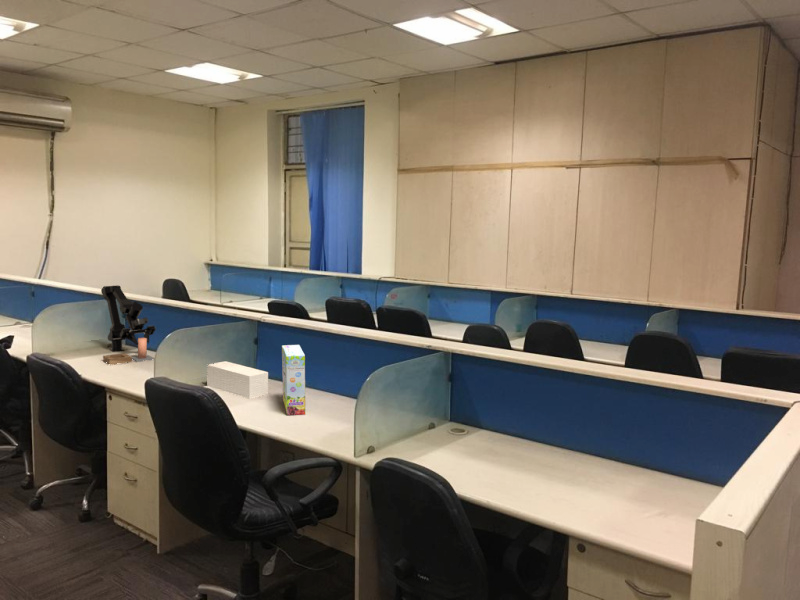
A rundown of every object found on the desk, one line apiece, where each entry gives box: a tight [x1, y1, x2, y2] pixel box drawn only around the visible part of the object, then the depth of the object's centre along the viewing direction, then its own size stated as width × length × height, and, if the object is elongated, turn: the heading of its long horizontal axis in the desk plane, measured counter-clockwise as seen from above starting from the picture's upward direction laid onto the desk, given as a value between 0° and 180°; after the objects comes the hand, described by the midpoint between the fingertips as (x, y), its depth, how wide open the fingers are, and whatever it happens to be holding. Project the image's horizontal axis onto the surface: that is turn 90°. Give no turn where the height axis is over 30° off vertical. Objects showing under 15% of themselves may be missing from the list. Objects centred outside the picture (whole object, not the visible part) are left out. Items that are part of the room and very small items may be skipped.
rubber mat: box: [131, 354, 155, 362], centre depth 356 cm, size 10×10×1 cm
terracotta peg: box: [137, 337, 148, 359], centre depth 354 cm, size 4×4×11 cm
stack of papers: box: [206, 361, 269, 400], centre depth 298 cm, size 32×11×11 cm, turn 52°
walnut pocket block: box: [102, 352, 133, 365], centre depth 348 cm, size 12×12×3 cm
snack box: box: [281, 344, 306, 416], centre depth 271 cm, size 22×9×26 cm, turn 15°
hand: (143, 343), depth 354 cm, fingers open, 6 cm apart
